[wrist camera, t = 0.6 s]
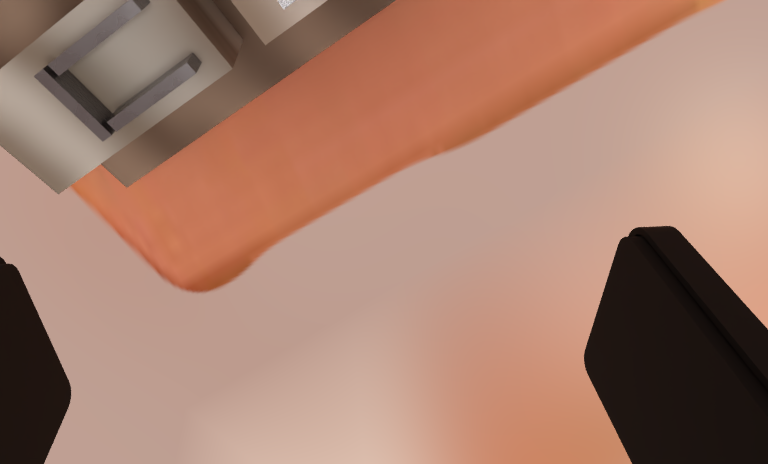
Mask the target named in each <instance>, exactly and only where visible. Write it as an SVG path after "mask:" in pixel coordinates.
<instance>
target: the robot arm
mask: <svg viewBox="0 0 768 464" xmlns="http://www.w3.org/2000/svg"><path fill="white" fill-rule="evenodd" d="M584 362H585V368H586V371H587V373H588V375H589V378H590V380H591V382H592V384H593V386H594V388H595V390H596V392H597V394H598V396H599V398H600V400H601V401H602V404H603V406H604V408H605V410H606V412H607V414H608V416H609V418H610V420H611V422H612V424H613V426H614V428H615V430H616V432H617V434H618V436H619V438H620V440H621V442H622V444H623V446H624V448H625V450H626V452H627V454H628V456H629V458H630V460H631V462H632V464H768V329H767V328H766V327H765V326H764V325H763V324H762V323H761V321H760V320H759V319H758V318H757V317H756V316H755V315H754V314H753V313H752V312H751V310H750V309H749V308H748V307H747V306H746V305H745V304H744V303H743V302H742V300H741V299H740V298H739V297H738V296H737V295H736V294H735V293H734V292H733V290H732V289H731V288H730V287H729V286H728V285H727V284H726V283H725V282H724V280H723V279H722V278H721V277H720V276H719V275H718V274H717V273H716V272H715V271H714V269H713V268H712V267H711V266H710V265H709V264H708V263H707V262H706V261H705V259H704V258H703V257H702V256H701V255H700V254H699V253H698V252H697V251H696V249H695V248H694V247H693V246H692V245H691V244H690V243H689V242H688V241H687V239H685V237H684V236H683V235H682V234H681V233H680V232H679V231H678V230H677V229H676V228H674V227H671V226H661V227H638V228H635V229H633V230H632V231H631V232H630V234H629V236H628V237H624V238H622V239H621V240H620V242H619V244H618V247H617V251H616V254H615V257H614V260H613V263H612V266H611V270H610V273H609V276H608V279H607V282H606V285H605V289H604V292H603V295H602V298H601V301H600V305H599V308H598V311H597V314H596V317H595V321H594V323H593V327H592V330H591V333H590V336H589V339H588V342H587V346H586V349H585V354H584ZM70 399H71V387H70V383H69V380H68V378H67V376H66V374H65V372H64V369H63V367H62V365H61V363H60V361H59V359H58V356H57V354H56V352H55V350H54V347H53V345H52V343H51V341H50V339H49V337H48V334H47V332H46V330H45V328H44V326H43V323H42V321H41V319H40V317H39V315H38V312H37V310H36V308H35V306H34V304H33V302H32V299H31V297H30V295H29V293H28V291H27V288H26V286H25V284H24V282H23V280H22V277H21V275H20V273H19V271H18V270H17V268H16V267H15V266H14V265H13V264H6V262H5V261H4V259H2V258H1V257H0V464H44V462H45V460H46V458H47V455H48V453H49V450H50V448H51V446H52V444H53V442H54V439H55V437H56V435H57V432H58V430H59V428H60V425H61V423H62V421H63V419H64V416H65V414H66V412H67V409H68V407H69V404H70Z"/></svg>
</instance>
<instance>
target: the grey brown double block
mask: <svg viewBox="0 0 768 464" xmlns="http://www.w3.org/2000/svg"><path fill="white" fill-rule="evenodd" d="M127 1H128V0H0V145H1V146H2V147H3V148H4V149H5V150H6V151H7V152H9V153H10V154H11V155H12V156H13V157H15V158H16V159H17V160H18V161H19V162H21V163H22V164H23V165H24V166H25V167H26V168H28V169H29V170H30V171H31V172H33V173H34V174H35V175H36V176H37V177H38V178H40V179H41V180H42V181H43V182H44V183H46V184H47V185H48V186H49V187H50V188H51V189H53V190H54V191H55V192H57V193H58V194H60V193H61V192H62V191H64V190H65V189H67V188H68V187H69V186H71V185H72V184H73V183H75V182H76V181H78V180H79V179H80V178H82V177H83V176H85V175H86V174H87V173H89V172H90V171H92V170H93V169H94V168H96V167H97V166H98V165H100V164H101V165H103V166H104V167H105V168H106V169H107V170H108V171H109V172H110V173H111V174H112V175H113V176H115V177H116V178H117V179H118V180H119V181H120V182H121V183H122V184H123V185H124V186H126V187H129V186H130V185H131V184H133V183H134V182H136V181H137V180H139V179H140V178H141V177H143V176H144V175H146V174H147V173H149V172H150V171H152V170H153V169H154V168H156V167H157V166H159V165H160V164H162V163H163V162H164V161H166V160H167V159H169V158H170V157H172V156H173V155H174V154H176V153H177V152H179V151H180V150H182V149H183V148H185V147H186V146H187V145H189V144H190V143H192V142H193V141H195V140H196V139H197V138H199V137H200V136H202V135H203V134H205V133H206V132H207V131H209V130H210V129H212V128H213V127H215V126H216V125H218V124H219V123H220V122H222V121H223V120H225V119H226V118H228V117H229V116H230V115H232V114H233V113H235V112H236V111H238V110H239V109H240V108H242V107H243V106H245V105H246V104H248V103H249V102H250V101H252V100H253V99H255V98H256V97H258V96H259V95H261V94H262V93H263V92H265V91H266V90H268V89H269V88H271V87H272V86H273V85H275V84H276V83H278V82H279V81H281V80H282V79H283V78H285V77H286V76H288V75H289V74H291V73H292V72H294V71H295V70H296V69H298V68H299V67H301V66H302V65H304V64H305V63H306V62H308V61H309V60H311V59H312V58H314V57H315V56H316V55H318V54H319V53H321V52H322V51H324V50H325V49H327V48H328V47H329V46H331V45H332V44H334V43H335V42H337V41H338V40H339V39H341V38H342V37H344V36H345V35H347V34H348V33H349V32H351V31H352V30H354V29H355V28H357V27H358V26H360V25H361V24H362V23H364V22H365V21H367V20H368V19H370V18H371V17H372V16H374V15H375V14H377V13H378V12H380V11H381V10H382V9H384V8H385V7H387V6H388V5H390V4H391V3H392V2H394V1H395V0H296V1H295V2H293V3H292V4H290V5H289V6H288V7H286V8H285V9H284V10H283V8H282V7H281V5H280V4H279V3H278V1H277V0H149V1H150V3H149V4H148V5H147V6H146V7H145V8H144V9H143V10H142V11H141V12H139V13H138V14H137V15H136V16H134V17H133V18H132V19H131V20H129V21H128V22H127V23H126V24H124V25H123V26H122V27H120V28H119V29H118V30H117V31H115V32H114V33H113V34H112V35H110V36H109V37H108V38H107V39H105V40H104V41H103V42H101V43H100V44H99V45H98V46H96V47H95V48H94V49H93V50H91V51H90V52H89V53H87V54H86V55H85V56H84V57H82V58H81V59H80V60H79V61H77V62H76V63H75V64H74V65H72V66H71V67H70V68H68V70H69V71H70V72H71V73H72V74H73V75H74V76H75V77H76V78H77V79H78V80H79V81H80V82H81V83H82V84H83V85H84V86H85V87H86V88H87V89H88V90H89V91H90V92H91V93H92V94H93V95H94V96H96V97H97V98H98V99H99V100H100V101H101V102H102V103H103V104H104V105H105V106H106V107H107V108H108V109H109V110H110V111H111V112H112V113H114V112H115V110H116V109H117V108H119V107H120V106H121V105H123V104H124V103H125V102H127V101H128V100H129V99H131V98H132V97H133V96H135V95H136V94H138V93H139V92H140V91H142V90H143V89H144V88H146V87H147V86H148V85H150V84H151V83H152V82H154V81H155V80H156V79H158V78H159V77H160V76H162V75H163V74H164V73H166V72H167V71H168V70H170V69H171V68H172V67H174V66H175V65H176V64H178V63H179V62H180V61H182V60H183V59H185V58H186V57H187V56H189V55H190V54H191V53H194V54H195V55H196V56H197V57H198V59H199V60H200V61H201V62H202V63H201V65H200V67H199V69H198V71H197V73H196V74H195V75H194V76H192V77H191V78H189V79H188V80H187V81H185V82H184V83H183V84H181V85H180V86H178V87H177V88H176V89H174V90H173V91H172V92H170V93H169V94H168V95H166V96H165V97H163V98H162V99H161V100H159V101H158V102H157V103H155V104H154V105H153V106H151V107H150V108H148V109H147V110H146V111H144V112H143V113H142V114H140V115H139V116H138V117H136V118H135V119H133V120H132V121H131V122H129V123H128V124H127V125H125V126H124V127H122V128H121V129H120V130H118V131H117V132H116V131H115V132H114V133H113V134H112V136H110V137H109V138H107V139H106V140H105V141H103V142H102V141H101V140H100V139H99V138H98V137H97V136H96V135H95V134H94V133H93V132H92V131H91V130H90V129H89V128H88V127H87V126H86V125H84V124H83V123H82V122H81V121H80V120H79V119H78V118H77V117H76V116H75V115H74V114H73V113H72V112H71V111H70V110H69V109H68V108H66V107H65V106H64V105H63V104H62V103H61V102H60V101H59V100H58V99H57V98H56V97H55V96H54V95H53V94H52V93H51V92H50V91H48V90H47V89H46V88H45V87H44V86H43V85H42V84H41V83H40V82H39V81H38V80H37V79H36V78H35V77H34V76H35V75H36V74H37V73H38V72H39V71H41V70H42V69H43V68H44V67H45V66H47V65H48V64H49V63H50V62H52V61H53V60H54V59H55V58H57V57H58V56H59V55H60V54H62V53H63V52H64V51H65V50H67V49H68V48H69V47H70V46H72V45H73V44H74V43H75V42H77V41H78V40H79V39H80V38H82V37H83V36H84V35H85V34H87V33H88V32H89V31H90V30H92V29H93V28H94V27H95V26H97V25H98V24H99V23H100V22H102V21H103V20H104V19H105V18H107V17H108V16H109V15H110V14H112V13H113V12H114V11H115V10H117V9H118V8H119V7H120V6H122V5H123V4H124V3H125V2H127Z"/></svg>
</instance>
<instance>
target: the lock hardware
mask: <svg viewBox="0 0 768 464" xmlns="http://www.w3.org/2000/svg"><path fill="white" fill-rule="evenodd" d="M277 1H278V3H279V4H280V5H281V7H282V8H283V10H284V9H285V8H286V7H288V6H289V5H290V4H292V3H293V2H295V1H296V0H277ZM149 3H150V1H149V0H128V1H127V2H125V3H124V4H123V5H122V6H120V7H119V8H118V9H117V10H115V11H114V12H113V13H112V14H110V15H109V16H108V17H107V18H105V19H104V20H103V21H102V22H100V23H99V24H98V25H97V26H95V27H94V28H93V29H92V30H90V31H89V32H88V33H87V34H85V35H84V36H83V37H82V38H80V39H79V40H78V41H77V42H75V43H74V44H73V45H72V46H70V47H69V48H68V49H67V50H65V51H64V52H63V53H62V54H60V55H59V56H58V57H57V58H55V59H54V60H53V61H52V62H50V63H49V64H48V65H47V66H45V67H44V68H43V69H42V70H41V71H39V72H38V73H37V74H36V75H35V76H34V77H35V78H36V79H37V80H38V81H39V82H40V83H41V84H42V85H43V86H44V87H45V88H46V89H47V90H48V91H50V92H51V93H52V94H53V95H54V96H55V97H56V98H57V99H58V100H59V101H60V102H61V103H62V104H63V105H64V106H65V107H66V108H68V109H69V110H70V111H71V112H72V113H73V114H74V115H75V116H76V117H77V118H78V119H79V120H80V121H81V122H82V123H83V124H84V125H86V126H87V127H88V128H89V129H90V130H91V131H92V132H93V133H94V134H95V135H96V136H97V137H98V138H99V139H100V140H101V141H102V142H103V141H105V140H106V139H107V138H109V137H110V136H112V134H113V133H114V132H115V131H116V132H117V131H118V130H120V129H121V128H122V127H124V126H125V125H127V124H128V123H129V122H131V121H132V120H133V119H135V118H136V117H138V116H139V115H140V114H142V113H143V112H144V111H146V110H147V109H148V108H150V107H151V106H153V105H154V104H155V103H157V102H158V101H159V100H161V99H162V98H163V97H165V96H166V95H168V94H169V93H170V92H172V91H173V90H174V89H176V88H177V87H178V86H180V85H181V84H183V83H184V82H185V81H187V80H188V79H189V78H191V77H192V76H194V75H195V74H196V73H197V71H198V69H199V67H200V65H201V63H202V62H201V61H200V60H199V59H198V57H197V56H196V55H195V54H194V53H191V54H190V55H189V56H187V57H186V58H185V59H183V60H182V61H180V62H179V63H178V64H176V65H175V66H174V67H172V68H171V69H170V70H168V71H167V72H166V73H164V74H163V75H162V76H160V77H159V78H158V79H156V80H155V81H154V82H152V83H151V84H150V85H148V86H147V87H146V88H144V89H143V90H142V91H140V92H139V93H138V94H136V95H135V96H133V97H132V98H131V99H129V100H128V101H127V102H125V103H124V104H123V105H121V106H120V107H119V108H117V109H116V110H115V112H114V113H112V112H111V111H110V110H109V109H108V108H107V107H106V106H105V105H104V104H103V103H102V102H101V101H100V100H99V99H98V98H97V97H96V96H94V95H93V94H92V93H91V92H90V91H89V90H88V89H87V88H86V87H85V86H84V85H83V84H82V83H81V82H80V81H79V80H78V79H77V78H76V77H75V76H74V75H73V74H72V73H71V72H70V71H69V70H68V68H70V67H71V66H72V65H74V64H75V63H76V62H77V61H79V60H80V59H81V58H82V57H84V56H85V55H86V54H87V53H89V52H90V51H91V50H93V49H94V48H95V47H96V46H98V45H99V44H100V43H101V42H103V41H104V40H105V39H107V38H108V37H109V36H110V35H112V34H113V33H114V32H115V31H117V30H118V29H119V28H120V27H122V26H123V25H124V24H126V23H127V22H128V21H129V20H131V19H132V18H133V17H134V16H136V15H137V14H138V13H139V12H141V11H142V10H143V9H144V8H145V7H146V6H147V5H148V4H149Z"/></svg>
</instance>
